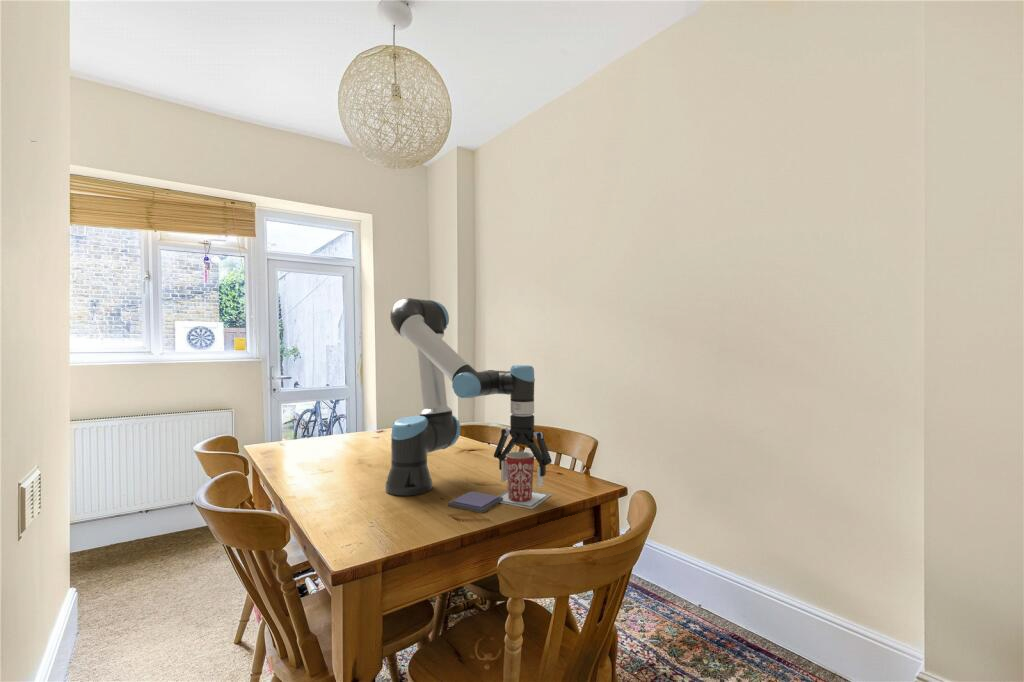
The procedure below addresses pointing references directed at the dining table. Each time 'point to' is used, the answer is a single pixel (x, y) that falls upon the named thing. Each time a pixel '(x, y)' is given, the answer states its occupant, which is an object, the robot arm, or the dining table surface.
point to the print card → (535, 500)
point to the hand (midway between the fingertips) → (521, 483)
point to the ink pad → (475, 501)
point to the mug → (520, 475)
